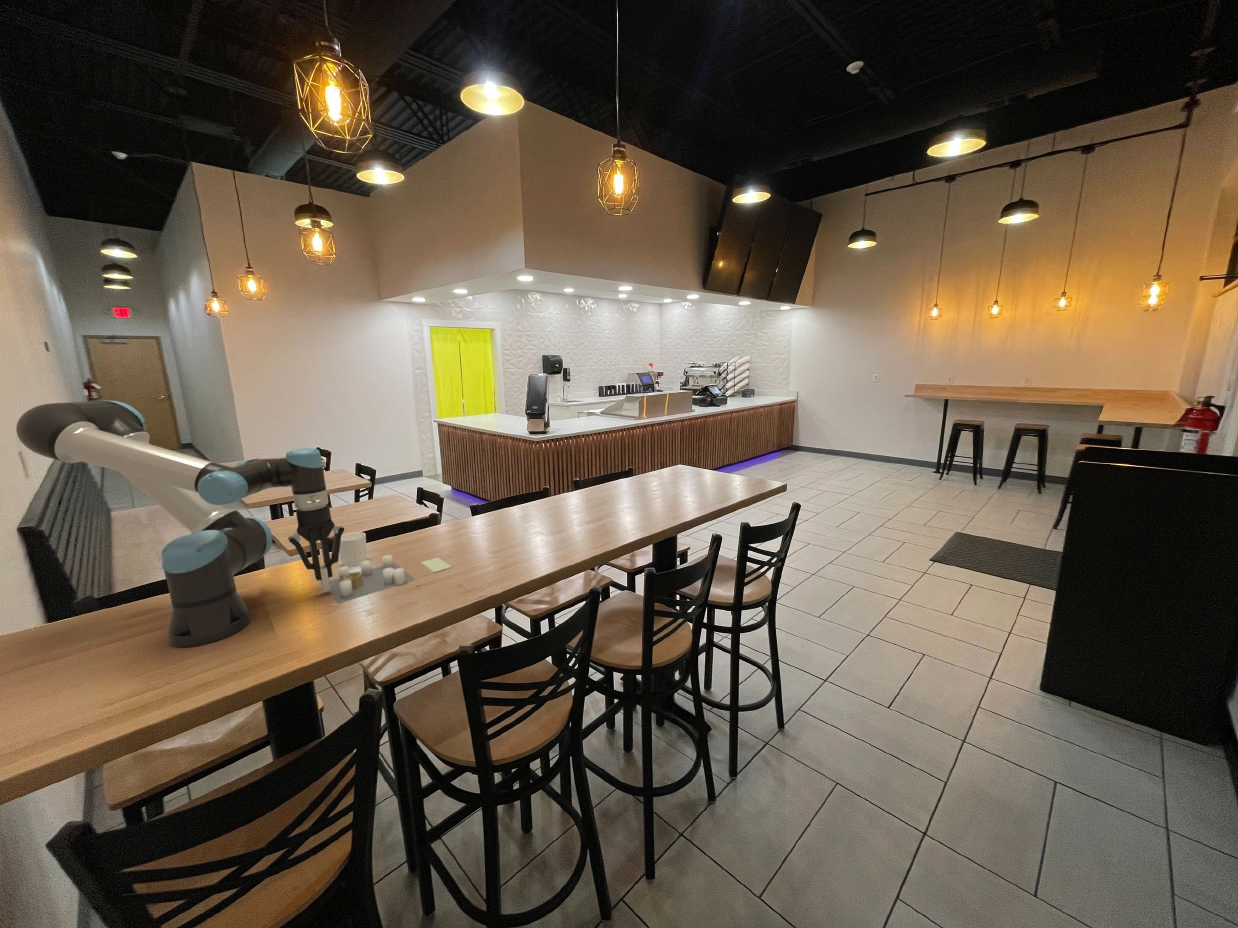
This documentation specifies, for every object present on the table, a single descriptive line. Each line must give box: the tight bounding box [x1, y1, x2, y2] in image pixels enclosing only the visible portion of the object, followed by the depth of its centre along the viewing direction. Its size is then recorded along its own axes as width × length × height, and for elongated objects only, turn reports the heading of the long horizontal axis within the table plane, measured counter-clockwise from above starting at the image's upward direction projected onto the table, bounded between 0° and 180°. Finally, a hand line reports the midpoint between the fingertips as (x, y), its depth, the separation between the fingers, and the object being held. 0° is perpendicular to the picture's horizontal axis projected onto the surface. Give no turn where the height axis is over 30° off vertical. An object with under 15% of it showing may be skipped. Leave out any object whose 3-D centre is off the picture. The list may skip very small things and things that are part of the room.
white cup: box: [339, 531, 368, 568], centre depth 150 cm, size 8×8×10 cm
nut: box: [343, 571, 363, 589], centre depth 133 cm, size 4×5×3 cm
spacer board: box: [328, 554, 416, 604], centre depth 136 cm, size 20×18×5 cm
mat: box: [420, 557, 453, 574], centre depth 147 cm, size 12×11×1 cm
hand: (326, 589), depth 129 cm, fingers closed
